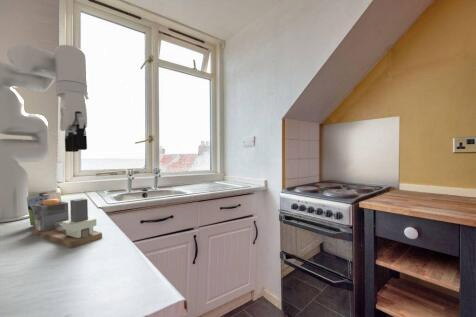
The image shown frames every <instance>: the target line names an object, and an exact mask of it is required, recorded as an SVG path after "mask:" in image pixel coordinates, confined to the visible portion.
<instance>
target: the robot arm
mask: <svg viewBox="0 0 476 317" xmlns="http://www.w3.org/2000/svg"><path fill="white" fill-rule="evenodd" d="M6 56H7V59H8V61H9V62H6V61H0V135H5V136H19V137H31V139H28V138H27V139H24V138H0V223H8V222H14V221H15V222H16V221H21V220H24V219H30V218H29V212H28V205H27V197H28V194H29V183H28V182H29V180H28V176H29V174H28V172H27V170H26V169H25V168H24V167H23V166H22V165H20V164H22V163H42V162H46V161H47V159H48V158H49V156H50V135H49V134H50V133H49V132H50V131H49V124H48V121H47V119H46V118H45V117H44V116H43V115H40V114H36V113H29V112H28V113H27V112H25V102H24V99H23V98H22V97H21V95H20V94H19V93H18V92H17V91H16V89H19V90H20V89H21V90H24V91H32V92H36V93H45V92H47V91H48V90H49V89H50V87H51V86H52V85H53V84H54V83H55V84H56V85H55V86H56V87H55V88H56V96H57V97H59V98H60V101H59V102H60V103H59V105H60V106H59V129H60V131H61V132H65V134H64V148H65V152H66V153H70V152H72V153H75V152H76V153H77V152H79V151H86V150H87V149H88V139H87V127H88V115H87V114H88V112H87V101H86V100H89V98H90V92H89V72H88V71H89V70H88V67H89V66H88V56H87V54H86V52H85V51H84V50H82V49H81V48H79V47H77V46H74V45H69V44H60V45H57V46H56V47H55V49H54V52H53V51H49V50H46V49H44V48H41V47H37V46H34V45H30V44H27V43H22V42H19V43H17V44H13V45H11V46H10V47H8V48H7V51H6ZM14 88H16V89H14Z"/></svg>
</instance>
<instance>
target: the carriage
mask: <svg viewBox="0 0 476 317" xmlns="http://www.w3.org/2000/svg"><path fill="white" fill-rule="evenodd" d="M69 207H70V219H69V220H68V221H63V222H62V229H65V230H66V235H69V236H72V237H75V238H80V237H81V230H83V229H86V228H87V229H88V231H89V234H93V230H94V227H96V226H97V218H93V217H89V214H88V213H89V212H88V208H89V207H88V199H87V198H84V197H82V198H75V199H70V206H69Z"/></svg>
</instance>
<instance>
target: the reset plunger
mask: <svg viewBox="0 0 476 317" xmlns="http://www.w3.org/2000/svg"><path fill="white" fill-rule="evenodd" d="M59 201H60V198H50V199H47V200H43V205H44V206H48V205H54V204H59Z"/></svg>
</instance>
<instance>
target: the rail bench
mask: <svg viewBox="0 0 476 317" xmlns="http://www.w3.org/2000/svg"><path fill="white" fill-rule="evenodd" d="M68 220H70V219H69V202H66V201H62V200H61V201H60V200H59V204H54V205H48V206H44V205H43V203H42V204H36V205H34V226H33V227H32V228H31V230H30V231H31V232H30V233H31V234H32V235H36V236H37V237H40V238H43V239H44V240H45V239H46V240H48V241H50V242H53V243H57V244H59V245H62V246H65V247H68V248H71V249H73V248H76V247H79V246H82V245H85V244H87V243H88V244H89V243H90V242H94V241H97V240H100V239H102V238H103V232H101V231H97V230H94V229H93V234H89V231H88V229H87V228H86V229H83V230H81V237H80V238H75V237H72V236H69V235H66V230H65V229H62V222H63V221H68Z"/></svg>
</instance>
